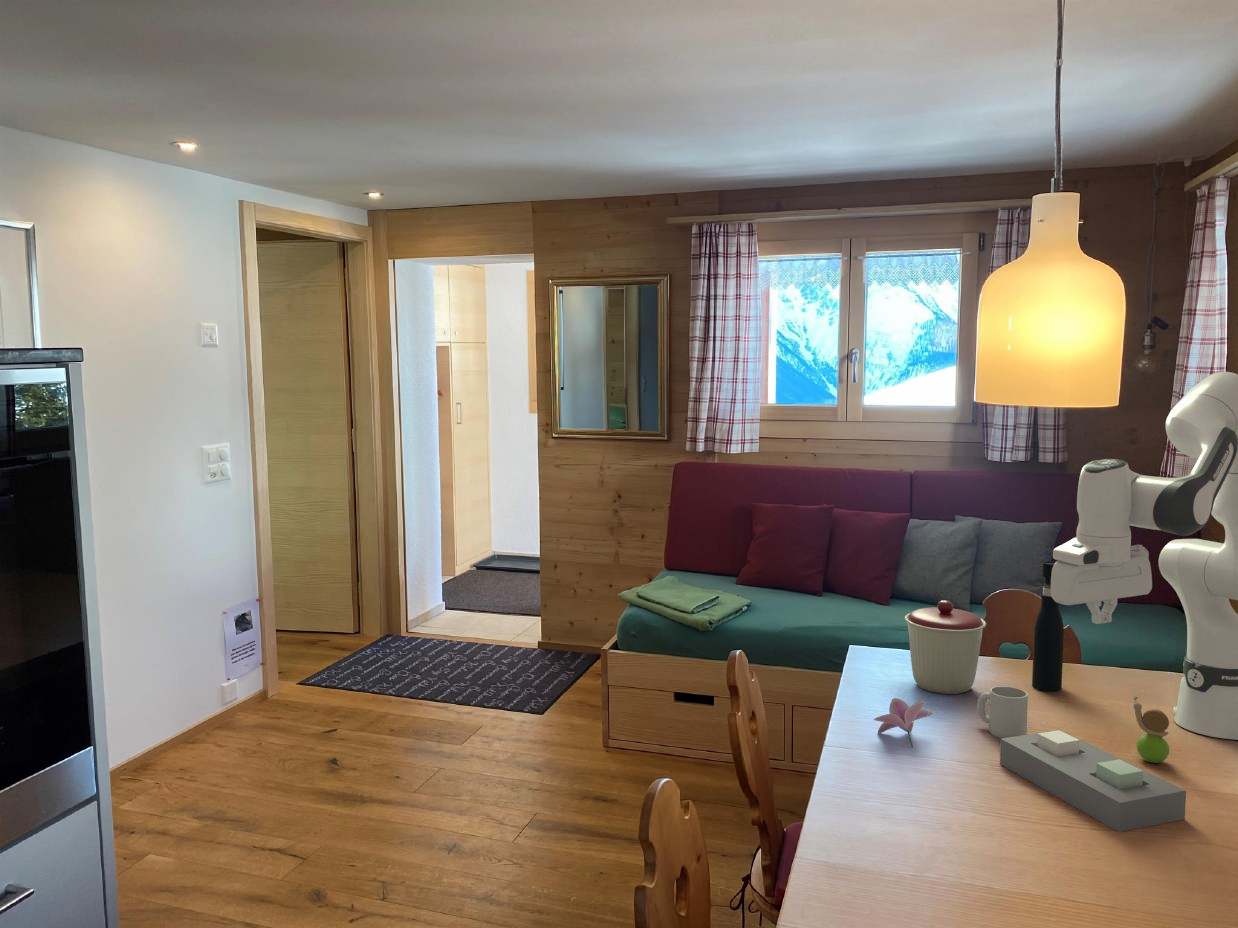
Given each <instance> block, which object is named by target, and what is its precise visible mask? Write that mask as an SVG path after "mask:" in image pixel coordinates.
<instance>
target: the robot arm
mask: <svg viewBox="0 0 1238 928" xmlns="http://www.w3.org/2000/svg"><path fill="white" fill-rule="evenodd" d="M1165 433H1166V436H1167V437H1168V440H1169V442H1170V443H1171V444H1172V445H1173V446H1174V447H1175V449H1176V450H1178V451H1179V452H1181V453H1182V455H1183V454H1184V455H1185V456H1187V457H1189V458H1193V459H1195V460H1196V462H1195V464H1194V466H1193V468H1192V469H1191V472H1190V473H1189V474H1188V475H1185V476H1181V477H1164V476H1163V477H1162V476H1152V475H1144V474H1140V473H1137V472H1134V471H1132V470H1131V469H1130V466H1129V464H1128V462H1127V461H1125V460H1122V459H1117V458H1116V459H1115V458H1104V459H1096V460H1092V461H1089V462H1088V463H1086V464H1084V465H1082V466H1083V467H1082V468H1081V471H1080V475H1079V480H1078V485H1077V494H1076V495H1077V497H1076V511H1077V514H1078V524H1077V527H1076V536H1075V537H1073V538H1072V539H1070V540H1068V541H1066V542H1065V543H1062V544H1061V545H1059V546H1056V547H1055V548H1054V549H1053V551H1052V559H1054V560H1055V562H1056V563H1055V564H1054V566H1053V568H1052V574H1051V596H1052V598H1053V600H1054V601H1055V602H1058V603H1059V604H1061V605H1064V606H1074V605H1080V604H1086V606H1087V608H1088V610H1089V612H1090V613H1091V622H1092V623H1093V624H1096V625H1100V624H1107V623H1108V624H1109V623H1111V622H1112V619H1113V618H1112V614H1113V613H1114V611H1115V609H1116V607H1117V605H1118V599H1123V598H1130V597H1138V596H1143V595H1146V596H1147V595H1149V593H1150V592H1151V591H1152V590H1153V589H1152V588H1153V576H1152V568H1151V562H1150V560H1149V555H1150V554H1149V553H1150V552H1149V551H1148V549H1147V548H1146V547H1144V546H1143V544H1135V545H1131V543H1132V542H1131V541H1132V540H1131V539H1132V532H1131V531H1132V530H1131V527H1130V526H1132V527H1137V528H1141V529H1142V528H1143V529H1149V530H1155V531H1156V530H1157V531H1162V532H1165V533H1170V534H1173V535H1178V536H1181V537H1182V536H1183V537H1188V536H1191V535H1193V534H1195V533H1197V532H1198V531H1200V530H1201V529H1203V528H1204V527H1205V526H1206V525H1207V523H1208V522H1209V520H1210V519H1211V516H1212V517H1213V518H1214V519H1215V520H1216V521H1217V522H1218V523H1219V524H1221V525H1222V526H1223V527H1224V532H1225V538H1224V542H1217V541H1212V540H1205V539H1201V538H1181V539H1180V538H1179V539H1178V538H1177V539H1173V540H1171V541H1168V542H1167V544H1166V545H1164V547H1163V548H1162V549H1161V551H1160V553H1159V557H1158V569H1159V572H1160V574H1161V576H1162V578H1163V579H1165V580H1166V581H1167V582H1168V584H1169V585H1170V586H1171V587H1172V588H1173V590H1174V591H1175V592H1176V594H1177V596H1178V598H1179V600H1180V602H1181V605H1182V608H1183V611H1184V615H1185V619H1186V626H1187V627H1186V629H1187V631H1186V633H1187V635H1186V637H1187V638H1186V643H1187V644H1186V647H1187V648H1186V655H1185V656H1184V658H1183V659H1184V660H1183V663H1182V666H1183V669H1182V672H1183V675H1184V676H1183V677H1181V679H1180V684H1179V690H1178V697H1177V703H1176V706H1173V709H1172V713H1173V714H1174V718H1173V720H1174V722H1175V724H1177V725H1178V726H1179V727H1181V728H1184V729H1185V730H1187V731H1190V732H1193V733H1197V734H1200V735H1203V736H1207V737H1212V738H1220V739H1227V740H1236V741H1238V613H1237V612H1236V611H1235V610H1234V608H1233V607H1232V605H1231V602H1230V600H1236V601H1238V374H1237V373H1235V372H1230V371H1219V372H1214V373H1212V374H1210V375H1208V376H1206V377H1205V378H1203V379H1202V380H1201V381H1200V382H1198V383H1196V385H1193V387H1191V389H1190V390H1188V391H1187V392H1186V393H1185V394H1184V395H1183V396H1182V398H1180V400H1179V401H1178V402H1177V403H1176V404H1175V405H1174V406H1173V408H1172V409H1171V410H1170V411H1169V413H1168V416H1167V417H1166V420H1165ZM1102 602H1103V606H1102ZM1101 606H1102V608H1101V609H1100V607H1101Z"/></svg>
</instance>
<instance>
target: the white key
mask: <svg viewBox="0 0 1238 928" xmlns="http://www.w3.org/2000/svg"><path fill="white" fill-rule="evenodd" d="M1056 730H1057V731H1054V730H1050V731H1051V732H1048V731H1043V732H1044V733H1041V732H1037V733H1038V737H1037V747H1038V748H1040V749H1042V750H1044V751H1046V752H1048V753H1050V754H1052V755H1054V756H1056V757H1061V756H1067V755H1073V754H1079V743H1080V740H1078V739H1076V738H1074V737H1075V736H1074V737H1072V736H1073V735H1072V736H1070V735H1071V734H1070V735H1068V734H1069V733H1068V734H1066V733H1067V732H1066V733H1064V732H1065V731H1064V732H1062V731H1063V730H1062V731H1060V730H1061V729H1056Z"/></svg>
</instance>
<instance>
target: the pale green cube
mask: <svg viewBox="0 0 1238 928" xmlns="http://www.w3.org/2000/svg"><path fill="white" fill-rule="evenodd" d="M1120 759H1121V758H1120ZM1120 759H1118V760H1112V761H1106V762H1100V763H1097V764H1096V778H1098V779H1100V780H1102V781H1103V782H1105V783H1107V784H1109V785H1111V786H1113V787H1115V788H1117V789H1119V790H1122V789H1127V788H1133V787H1138V786H1143V771H1142V770H1140V769H1138V768H1136V767H1134V766H1132V765H1133V764H1132V765H1130V764H1131V763H1130V764H1128V763H1129V762H1128V763H1126V762H1127V761H1126V762H1124V761H1125V760H1124V761H1122V760H1123V759H1122V760H1120Z"/></svg>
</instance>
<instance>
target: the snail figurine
mask: <svg viewBox="0 0 1238 928" xmlns="http://www.w3.org/2000/svg"><path fill="white" fill-rule="evenodd" d="M1137 699H1139V698H1138V696H1134V697H1133V700H1134V702H1133V709H1134V713H1135V719H1136V721H1137V725H1138V726H1139V728H1140V729H1141V731H1144V732H1145V733H1144V734H1143V735H1141V736H1140V737H1139V738H1138V740H1137V743H1136V750H1137V752H1138V754H1139V756H1140V757H1141V758H1142V759H1143V760H1145V761H1146V762H1149V763H1154V764H1155V763H1156V764H1158V763H1162V762H1164V761H1165V760H1167V758H1168V757H1169V755H1170V746H1169V744H1168V741H1167V740H1166V739H1165V738H1164V737H1166V736H1168V735H1169V734H1170V733H1169V732H1168V731H1166V730H1167V729H1168V728H1169V726H1170V721H1169V718H1168V716H1167V714H1166V713H1164V711H1162V710H1160V709H1156V708H1153V709H1152V708H1151V709H1147V710H1146V711H1145V712H1144V713H1142V707H1143V706H1142V704H1141V703H1140V702H1136V701H1137Z"/></svg>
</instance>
